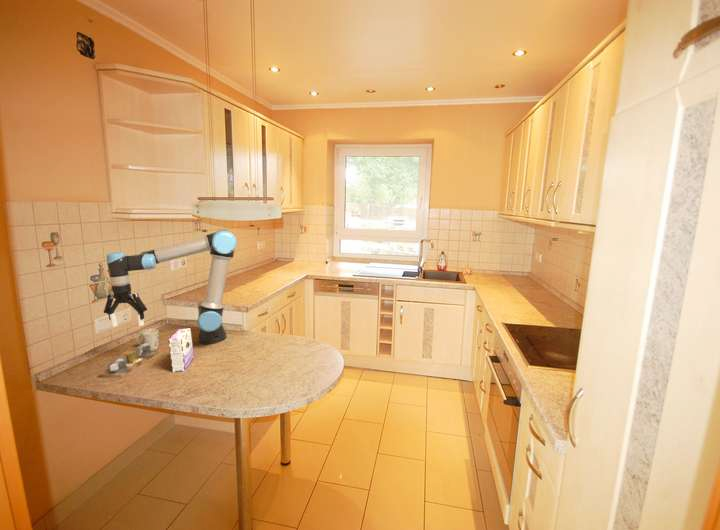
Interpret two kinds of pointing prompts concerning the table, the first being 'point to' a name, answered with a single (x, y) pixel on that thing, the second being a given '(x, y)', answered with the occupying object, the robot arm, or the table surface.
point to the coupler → (130, 356)
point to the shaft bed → (144, 358)
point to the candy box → (181, 350)
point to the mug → (150, 338)
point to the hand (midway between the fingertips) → (128, 325)
